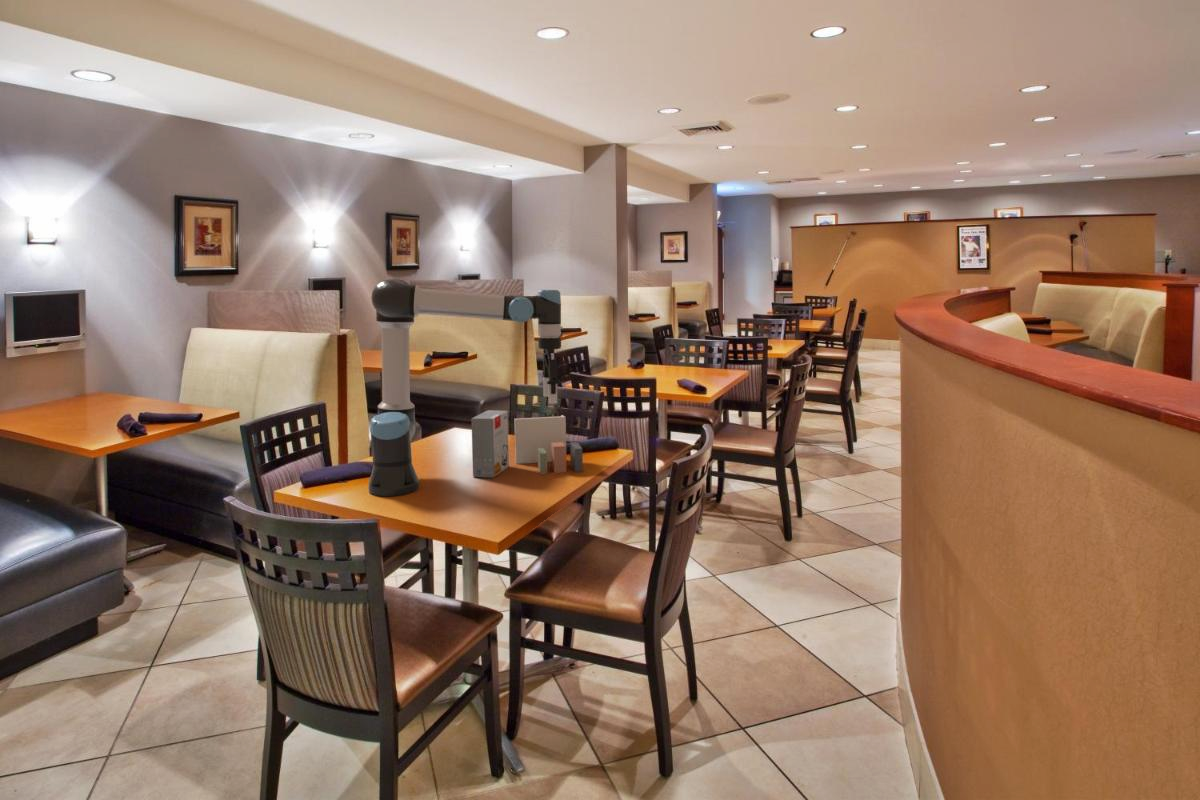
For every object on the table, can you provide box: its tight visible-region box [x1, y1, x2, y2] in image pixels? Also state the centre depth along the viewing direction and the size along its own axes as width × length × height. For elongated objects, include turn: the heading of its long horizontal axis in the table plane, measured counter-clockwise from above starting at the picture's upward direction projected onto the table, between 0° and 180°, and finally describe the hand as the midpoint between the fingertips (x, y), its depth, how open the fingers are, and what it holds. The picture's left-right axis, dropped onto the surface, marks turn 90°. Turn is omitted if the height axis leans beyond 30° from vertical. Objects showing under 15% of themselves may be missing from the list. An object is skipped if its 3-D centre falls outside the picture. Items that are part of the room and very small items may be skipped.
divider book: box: [537, 448, 548, 475], centre depth 239 cm, size 2×8×7 cm, turn 12°
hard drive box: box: [471, 409, 510, 479], centre depth 237 cm, size 16×8×20 cm, turn 168°
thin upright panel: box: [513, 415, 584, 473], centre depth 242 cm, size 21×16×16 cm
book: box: [551, 442, 567, 474], centre depth 239 cm, size 4×6×9 cm, turn 12°
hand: (550, 400), depth 237 cm, fingers open, 13 cm apart
